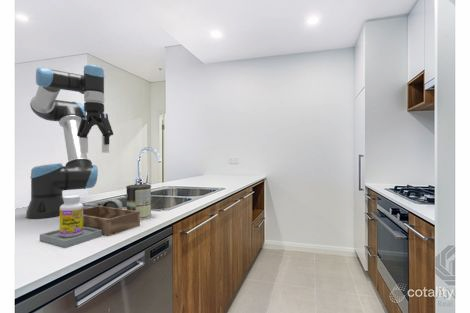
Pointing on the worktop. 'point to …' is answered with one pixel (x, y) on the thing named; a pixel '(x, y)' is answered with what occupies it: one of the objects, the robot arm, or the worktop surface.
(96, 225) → the walnut box
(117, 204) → the ceramic mug
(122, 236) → the worktop surface
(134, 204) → the coffee can
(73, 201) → the supplement bottle
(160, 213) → the worktop surface
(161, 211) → the worktop surface
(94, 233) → the slate tray
